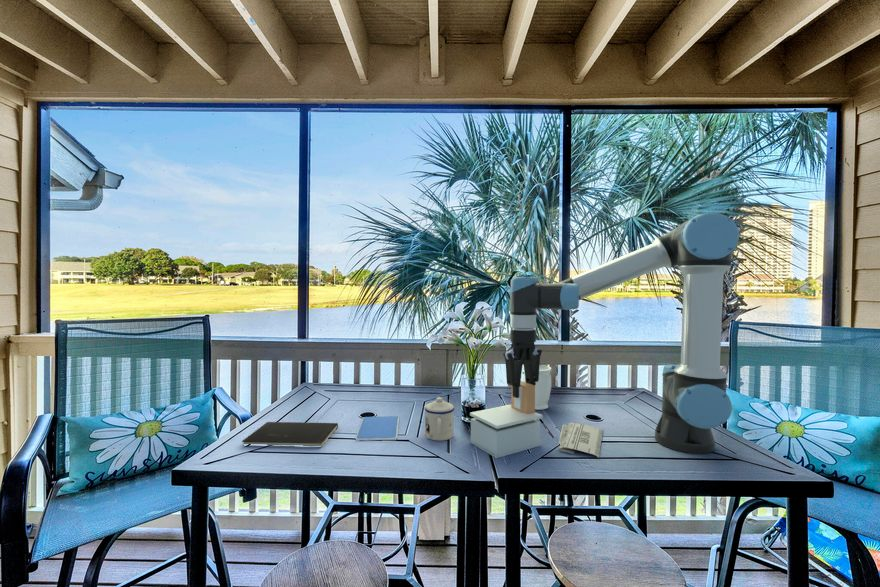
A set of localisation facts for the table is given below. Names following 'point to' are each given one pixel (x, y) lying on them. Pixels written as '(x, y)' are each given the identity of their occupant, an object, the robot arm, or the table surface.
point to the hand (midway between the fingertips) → (522, 406)
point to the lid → (511, 410)
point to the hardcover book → (292, 433)
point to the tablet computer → (378, 428)
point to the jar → (542, 387)
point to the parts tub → (505, 437)
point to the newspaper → (580, 439)
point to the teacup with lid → (439, 420)
